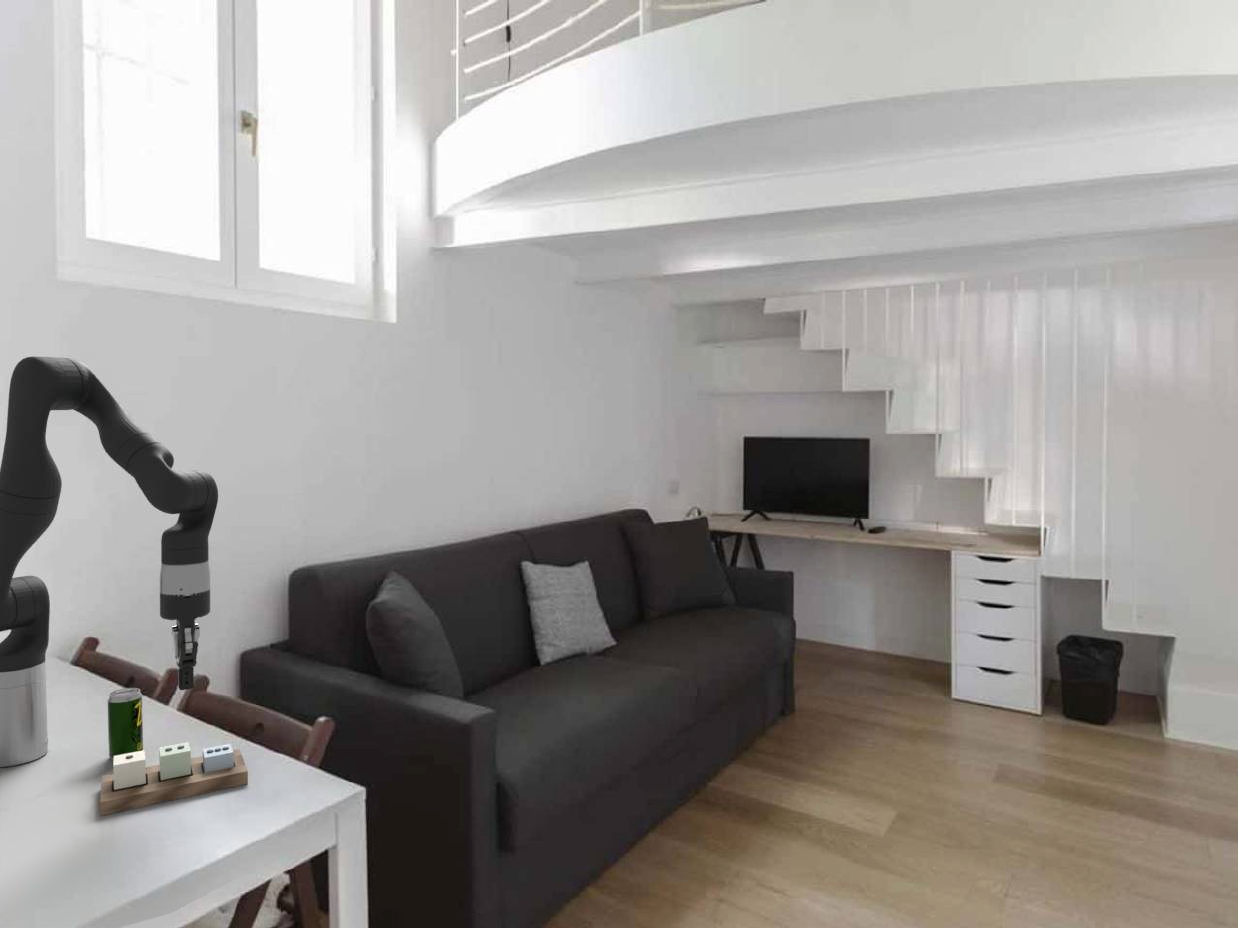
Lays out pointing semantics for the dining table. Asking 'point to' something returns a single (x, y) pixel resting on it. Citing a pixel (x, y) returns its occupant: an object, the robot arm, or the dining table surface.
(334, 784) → the dining table surface
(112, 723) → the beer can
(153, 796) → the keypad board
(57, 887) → the dining table surface
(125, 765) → the one dot key
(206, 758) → the three dot key
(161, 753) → the two dot key
